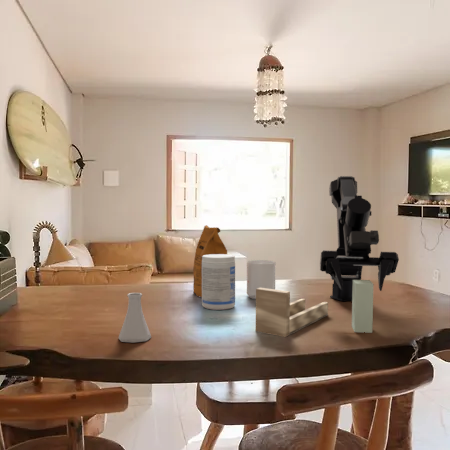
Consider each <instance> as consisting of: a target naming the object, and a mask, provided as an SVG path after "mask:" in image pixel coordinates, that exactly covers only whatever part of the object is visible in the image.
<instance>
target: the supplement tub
mask: <svg viewBox="0 0 450 450" xmlns="http://www.w3.org/2000/svg"><path fill="white" fill-rule="evenodd" d="M201 305H202V307H203V308H205V309H207V310H212V311H219V310H220V311H222V310H230V309H232V308H234V307H235V306H236V259H235V255H234V254H228V253H227V254H208V255H203V256H202V298H201Z"/></svg>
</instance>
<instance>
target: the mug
mask: <svg viewBox="0 0 450 450" xmlns="http://www.w3.org/2000/svg"><path fill="white" fill-rule="evenodd" d="M276 264H277V263H276V261H273V260H268V259H253V260H252V259H251V260H247V261H246V294H247V296H248V298H250V299H252V300H256V289H257V288H267V289H275V290H276V269H277V268H276Z"/></svg>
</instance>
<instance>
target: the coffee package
mask: <svg viewBox="0 0 450 450" xmlns="http://www.w3.org/2000/svg"><path fill="white" fill-rule="evenodd" d="M219 233H221V228H219V227H209V226H208V225H204V226H203V229H202V232H201V234H200V236H199V237H200V238H199V239H198V242H197V245H196V248H195V252H194V253H195V254H194V260H193V269H192V271H193V284H192V285H193V294H195V295H196V296H197V297H198V298H201V299H202V256H203V255H208V254H228V249H227V247H226V246H225V244H224V242H223V240H222V238H221V237H220V234H219Z"/></svg>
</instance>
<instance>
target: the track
mask: <svg viewBox="0 0 450 450" xmlns="http://www.w3.org/2000/svg"><path fill="white" fill-rule="evenodd" d="M328 316H329V302H327V301H323V302H320V303H317V304H316V305H313V306H311V307H309V308H306V299H305V298H300V299H296V300H294V301H292V302H291V291H290V290H289V291H287V290H282V289H276V288H275V289H267V288H257V289H256V299H255V332H259V333H261V334H262V333H263V334H268V335H269V334H270V335H272V336H273V335H274V336H277V337H283V338H286V337H288V336H290V335H291V334H294V333H296V332H298V331H300V330H302V329H304V328H306V327H308V326H310V325H311V324H312V325H313V323H315V322H318V321H319V320H322V319H323V318H325V317H328Z"/></svg>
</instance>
